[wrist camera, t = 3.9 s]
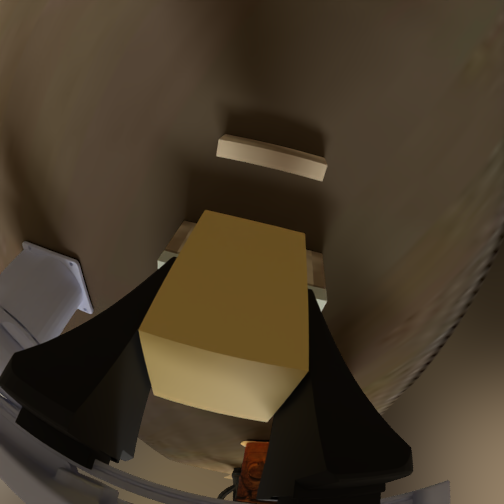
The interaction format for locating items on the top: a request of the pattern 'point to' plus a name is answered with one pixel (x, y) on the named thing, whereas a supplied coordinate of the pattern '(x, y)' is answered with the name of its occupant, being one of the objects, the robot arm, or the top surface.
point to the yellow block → (231, 319)
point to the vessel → (252, 472)
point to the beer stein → (234, 487)
